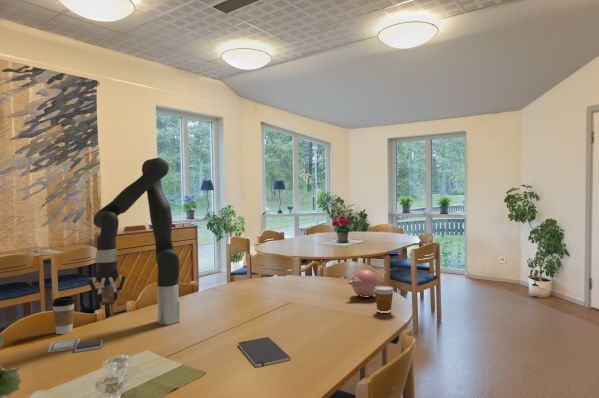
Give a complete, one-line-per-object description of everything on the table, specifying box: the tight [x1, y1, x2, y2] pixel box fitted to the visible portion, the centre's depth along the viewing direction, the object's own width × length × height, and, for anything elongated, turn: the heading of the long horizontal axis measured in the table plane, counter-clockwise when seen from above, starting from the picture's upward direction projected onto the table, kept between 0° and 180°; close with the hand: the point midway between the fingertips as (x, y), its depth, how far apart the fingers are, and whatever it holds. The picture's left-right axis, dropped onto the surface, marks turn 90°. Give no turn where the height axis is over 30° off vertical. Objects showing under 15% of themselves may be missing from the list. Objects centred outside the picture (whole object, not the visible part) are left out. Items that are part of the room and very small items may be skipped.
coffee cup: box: [51, 295, 76, 335], centre depth 164 cm, size 8×8×15 cm
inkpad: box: [74, 339, 104, 353], centre depth 148 cm, size 9×6×1 cm
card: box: [46, 338, 81, 354], centre depth 150 cm, size 10×10×1 cm
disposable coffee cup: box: [374, 285, 395, 311], centre depth 187 cm, size 10×10×12 cm
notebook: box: [237, 336, 291, 367], centre depth 142 cm, size 13×2×21 cm
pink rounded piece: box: [347, 269, 381, 297], centre depth 213 cm, size 15×20×15 cm
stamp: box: [101, 285, 115, 306], centre depth 157 cm, size 4×4×6 cm
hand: (107, 301), depth 157 cm, fingers closed on stamp, 4 cm apart
